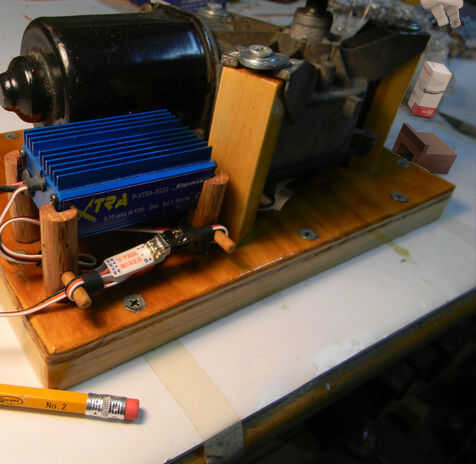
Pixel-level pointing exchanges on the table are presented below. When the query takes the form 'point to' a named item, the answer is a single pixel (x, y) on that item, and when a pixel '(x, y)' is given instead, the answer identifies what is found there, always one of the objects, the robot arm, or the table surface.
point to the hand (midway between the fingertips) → (450, 25)
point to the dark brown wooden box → (425, 149)
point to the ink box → (429, 89)
